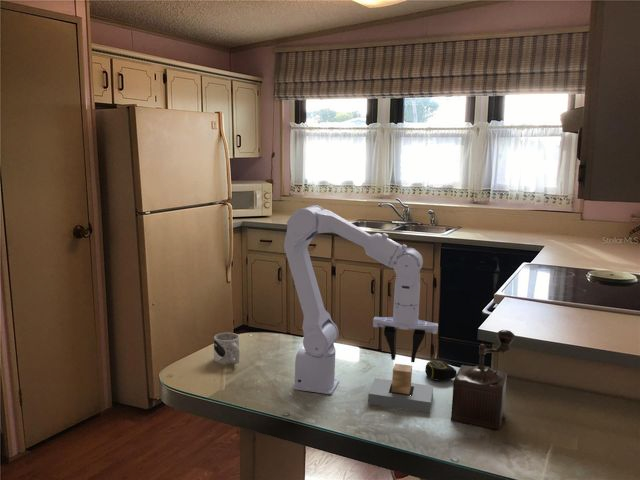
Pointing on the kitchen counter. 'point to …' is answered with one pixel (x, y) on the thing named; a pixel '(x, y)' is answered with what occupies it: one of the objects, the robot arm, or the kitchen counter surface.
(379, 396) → the hole board
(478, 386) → the manual coffee grinder
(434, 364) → the tape measure
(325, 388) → the robot arm
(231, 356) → the mug
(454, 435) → the kitchen counter surface
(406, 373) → the oak peg
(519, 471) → the kitchen counter surface
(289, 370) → the kitchen counter surface
